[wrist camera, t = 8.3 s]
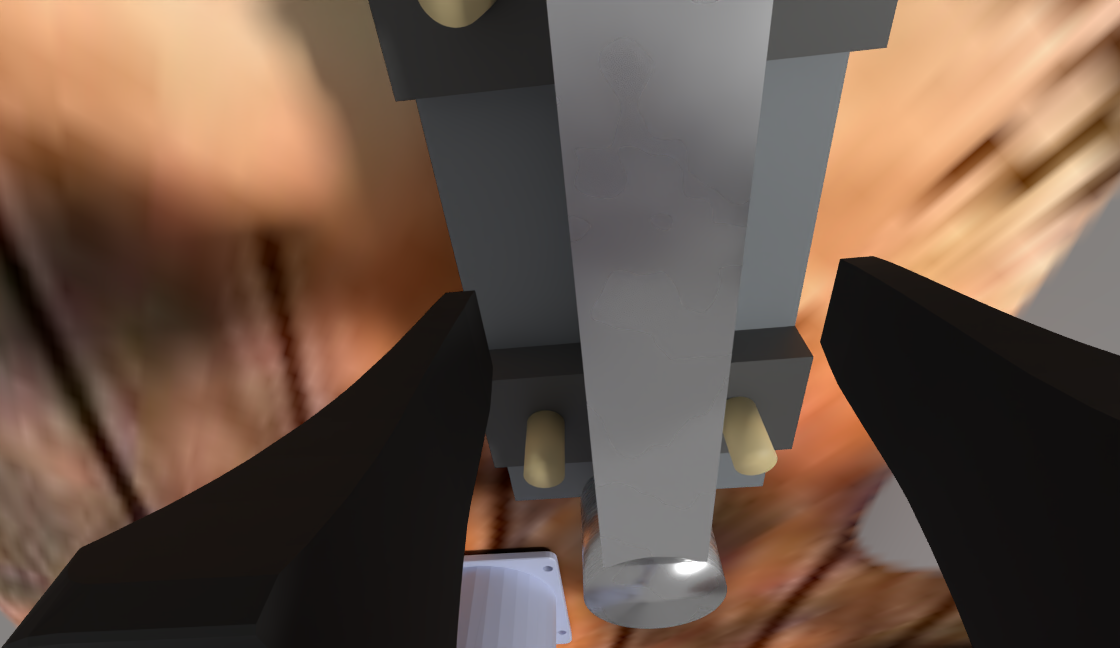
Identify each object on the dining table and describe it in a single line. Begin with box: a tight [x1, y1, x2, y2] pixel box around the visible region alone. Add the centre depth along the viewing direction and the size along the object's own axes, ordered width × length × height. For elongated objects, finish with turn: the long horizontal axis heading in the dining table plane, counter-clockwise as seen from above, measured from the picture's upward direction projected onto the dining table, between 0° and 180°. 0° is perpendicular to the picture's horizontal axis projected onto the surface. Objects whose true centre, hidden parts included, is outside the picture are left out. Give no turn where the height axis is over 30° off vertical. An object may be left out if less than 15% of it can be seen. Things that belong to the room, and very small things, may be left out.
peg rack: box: [368, 0, 898, 501], centre depth 13 cm, size 24×10×5 cm, turn 6°
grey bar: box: [546, 0, 773, 629], centre depth 12 cm, size 24×4×4 cm, turn 6°
